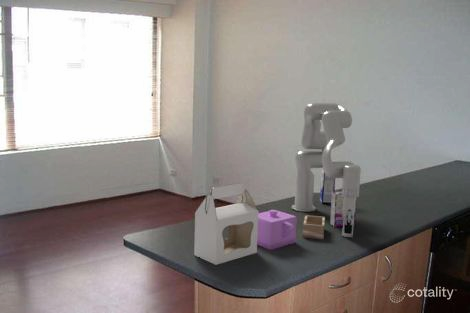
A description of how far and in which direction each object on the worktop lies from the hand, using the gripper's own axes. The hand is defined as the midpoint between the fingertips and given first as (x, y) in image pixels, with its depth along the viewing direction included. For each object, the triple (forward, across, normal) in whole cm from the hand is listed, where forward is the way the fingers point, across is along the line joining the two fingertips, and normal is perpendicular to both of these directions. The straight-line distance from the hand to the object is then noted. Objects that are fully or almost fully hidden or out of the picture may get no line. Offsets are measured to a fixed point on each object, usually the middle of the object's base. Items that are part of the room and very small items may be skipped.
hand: (347, 230), depth 232 cm
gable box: (+3, +38, -48) cm, 61 cm away
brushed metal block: (+2, 0, 0) cm, 2 cm away
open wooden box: (+2, +1, -15) cm, 15 cm away
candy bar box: (+3, -16, -2) cm, 16 cm away
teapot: (+3, +18, -33) cm, 37 cm away
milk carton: (+3, -58, -10) cm, 59 cm away
